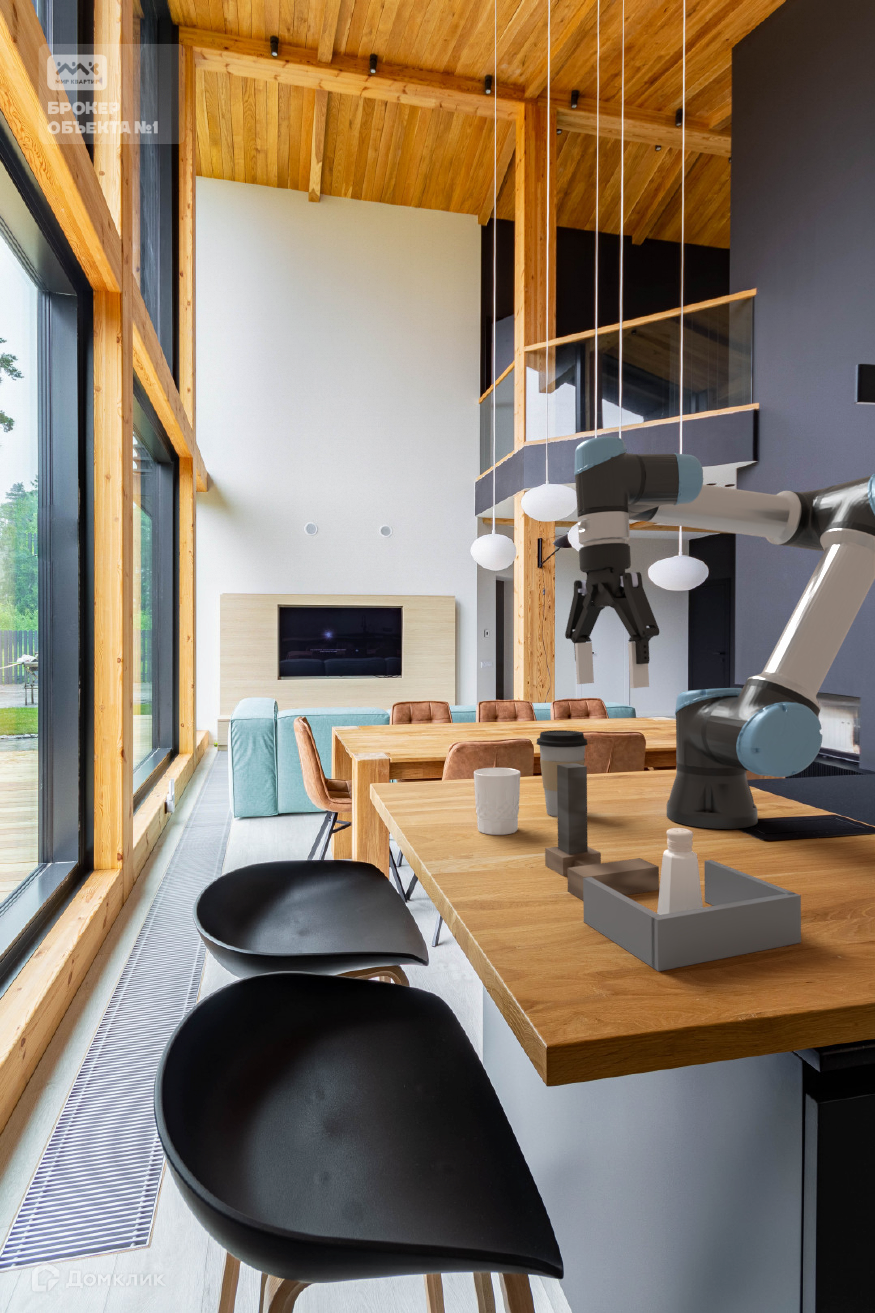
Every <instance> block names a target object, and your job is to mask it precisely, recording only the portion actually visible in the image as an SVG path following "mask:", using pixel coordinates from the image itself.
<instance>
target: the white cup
mask: <svg viewBox="0 0 875 1313" xmlns="http://www.w3.org/2000/svg"><path fill="white" fill-rule="evenodd" d="M473 782H474V783H473V784H474V798H475V812H476V821H477V830H478V832H479V833H481V834H482V833H483V834H486V835H492V836H493V835H494V836H495V835H496V836H504V835H510V834H514V833H516V832H517V831H518V829H519V827H518V826H519V817H518V816H519V812H520V810H519V809H520V806H519V804H520V796H521V795H520V794H521V792H520V791H521V789H520V788H521V771H520V770H518V769H515V768H509V767H485V768H478V769H475V770H474V771H473Z"/></svg>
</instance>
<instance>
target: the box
mask: <svg viewBox="0 0 875 1313" xmlns="http://www.w3.org/2000/svg"><path fill="white" fill-rule="evenodd" d="M801 896H802V895H801V894H798V893H796V892H793V891H792V890H788V889H786V888H783V887H781V886H778V885H776V884H774V883H771V882H768V881H765V880H763V879H761V878H758V877H755V876H753V875H750V874H747V873H745V872H743V871H740V870H738V869H735V868H733V867H731V866H728V865H725V864H723V863H720V862H718V861H715V860H713V859H707V860H704V902H705V903H708V904H709V905H711V906H705V907H704V906H703V908H698V909H692V910H686V911H680V912H674V913H669V914H663V915H659V914H657V912H655V911H653V910H651V908H648V907H646V906H645V905H642V904H640V903H639V902H637V901H635V900H634V899H632V898H630V897H628V896H627V895H623V894H621V893H619V892H617V891H615V890H614V889H612V888H610V887H608V886H606V885H605V884H603V883H601V882H599V881H597V880H595V879H594V878H592V877H587V878H583V900H582V901H583V922H584V923H585V924H587V925H588V926H590V927H591V928H593V929H594V930H596V931H597V932H598V933H600V934H602V935H603V936H604V937H606V938H607V939H609V940H611V941H612V942H614V943H615V944H616V945H618V946H619V947H621V948H623V949H624V950H626V951H627V952H628V953H630V954H632V955H633V956H635V957H636V958H637V959H638V960H640V961H642V962H643V963H645V964H646V965H648V966H649V967H651V968H652V969H653V970H655V971H656V972H662V971H668V970H673V969H676V968H681V967H687V966H691V965H697V964H701V963H707V962H711V961H716V960H722V959H726V958H727V959H728V958H731V957H737V956H741V955H746V954H751V953H756V952H760V951H762V952H763V951H766V950H770V949H775V948H780V947H786V946H791V945H797V944H800V943H802V897H801Z"/></svg>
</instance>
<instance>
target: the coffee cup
mask: <svg viewBox="0 0 875 1313" xmlns="http://www.w3.org/2000/svg"><path fill="white" fill-rule="evenodd" d="M535 744H536V745H538V746H539V753H540V759H539V760H540V762H539V763H540V769H541V779H542V780H541V781H542V788H543V789H544V797H545V798H544V799H545V807H546V814H547V815H548V816H551V817H556V818H558V805H557V765H560V764H572V763H576V764H580V765H583V766H585V762H586V758H585V755H586V754H585V752H586V746H588V739H587V738H585V734H584V732H583V731H579V730H578V731H577V730H568V729H567V730H563V729H562V730H558V729H557V730H544V731H541V732H540V733H539V737H538V738H536V743H535Z"/></svg>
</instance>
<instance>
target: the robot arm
mask: <svg viewBox="0 0 875 1313" xmlns="http://www.w3.org/2000/svg"><path fill="white" fill-rule="evenodd" d="M627 452H628V451H627V447H626V443H625V441H624V439H623V438H621V437H615V436H600V437H593V438H590V439H585V440H584V441H582V442H581V443H579V444H578V445H577V447H576V448H575V451H574V472H573V476H574V479H575V481H574V482H575V493H576V494H575V495H576V496H575V497H576V510H577V511H576V512H577V523H578V524H577V530H578V531H577V532H578V544H580V545H581V547H580V548H579V549H578V555H579V556H578V558H579V559H578V561H579V570H580V572H582V573H585V574H586V579H582V580H581V579H580V580H574V582H573V596H572V601H571V606H570V610H569V614H568V620H567V625H566V629H565V633H564V638H565V639H567V640H570V641H571V642H572V643H573V644H574V646H573V647H574V648H573V649H574V660H575V661H574V662H575V670H576V671H575V672H576V673H575V674H576V684H577V685H585V684H586V685H587V684H594V683H595V681H594V680H595V679H594V658H593V642H592V639H591V634H592V632H593V630H594V628H595V625H596V622H597V621H598V618H599V616H600V614H601V611H602V610H604V609H605V608H607V607H610V608H612V609H614V611H615V612H616V614H617V616H618V618H619V620H620V621H621V623H622V624H623V627H624V628H625V630H626V631H627V633H628V635H629V636H630V637H629V638H628V643H627V647H628V648H627V649H628V668H629V671H628V672H629V685H630V686H629V687H630V689H639V688H649V687H650V678H649V677H650V676H649V675H650V674H649V663H650V641H651V639H653V638H654V637H658V636H659V635H660V628H659V626H658V623H657V621H656V617H655V616H654V613H653V609H652V608H651V605H650V603H649V602H650V601H649V599H648V597H647V594H646V591H645V590H644V586H643V578H642V573H641V572H639V571H637V572H636V571H634V572H633V571H632V572H626V570H628V569H630V568H631V565H632V562H631V561H632V560H631V559H632V558H631V556H632V555H631V546H630V545H629V543H627V541H629V540H630V539H631V532H630V521H638V522H647V523H654V524H655V523H656V524H661V525H662V524H663V525H671V526H678V527H686V528H694V529H700V530H709V531H715V532H723V533H731V534H739V535H744V536H745V535H747V536H753V537H760V538H761V537H762V538H765V539H766V540H767V541H768V542H769V543H770V544H772V545H777V546H784V547H791V548H798V549H805V550H810V551H818V552H823V553H822V555H821V557H820V559H819V561H818V562H817V564H816V566H815V569H814V571H813V573H812V574H811V577H810V578H809V581H808V582H807V583H806V587H805V588H804V591H803V592H802V595H801V596H800V598H799V601H798V602H797V604H796V605H795V608H794V610H793V611H792V613H791V616H790V617H789V620H788V622H787V623H786V625H785V627H784V629H783V631H782V633H781V635H780V637H779V639H778V641H777V643H776V644H775V647H774V649H773V650H772V652H771V654H770V656H769V657H768V660H767V662H766V664H765V666H764V668H763V669H762V671H761V673H759V674H756V675H753V676H750V677H748V678H747V679H746V681H745V684H744V685H743V688H741V687H727V688H725V687H724V688H720V687H719V688H708V689H706V688H705V689H694V690H686V691H683V692H680V693H679V694H678V695H677V697H676V703H675V712H674V714H675V724H676V725H675V731H676V732H675V735H676V736H675V737H676V738H675V742H676V744H675V745H676V748H675V749H676V750H675V751H676V775H675V778H674V780H673V784H672V787H671V792H670V795H669V799H668V800H667V802H666V817H667V818H668V819H669V820H670V821H672V822H675V823H678V824H682V825H686V826H689V827H697V828H703V829H715V830H716V829H717V830H718V829H720V830H721V829H723V830H732V829H745V828H750V827H753V826H755V825H757V824H758V822H759V820H758V818H759V816H758V814H759V813H758V808H757V805H756V804H755V802H754V796H753V794H752V791H751V787H750V784H749V782H748V777H747V771H749V772H751V773H753V774H754V775H758V776H763V777H774V778H786V777H791V776H793V775H796V774H799V773H801V772H802V771H804V770H805V769H807V768H808V767H809V766H810V765H811V764H812V763H813V762H814V761H815V759H816V757H817V756H818V754H819V752H820V749H821V747H822V743H823V734H822V733H821V732H820V731H821V730H822V724H821V721H820V719H819V717H818V716H819V715H820V713H821V705H820V704H819V702H818V699H817V695H818V692H819V691H820V688H821V687H822V686H823V682H824V681H825V678H826V676H827V674H828V672H829V670H830V669H831V667H832V664H833V662H834V661H835V658H836V657H837V655H838V653H839V651H840V649H841V647H842V645H843V642H844V641H845V638H846V637H847V634H848V633H849V631H850V628H851V627H852V625H853V623H854V621H855V619H856V617H857V615H858V613H859V611H860V608H861V607H862V605H863V603H864V602H865V600H866V597H867V595H868V593H869V592H870V589H871V587H872V585H873V583H874V582H875V473H873V474H872V475H869V476H865V477H861V478H857V479H854V480H853V479H852V480H850V481H845V482H842V483H839V484H835V485H831V486H827V487H824V488H820V489H815V490H809V491H808V490H807V491H792V490H782V491H779V492H778V493H776V494H771V493H764V492H759V491H751V490H745V489H744V490H743V489H738V488H731V487H723V486H717V485H716V486H715V485H709V484H704V474H703V473H704V469H703V465H702V463H701V461H700V460H699V459H698V458H697V457H696V456H694V455H692V454H685V453H684V454H683V453H678V452H674V453H638V454H637V453H627Z"/></svg>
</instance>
